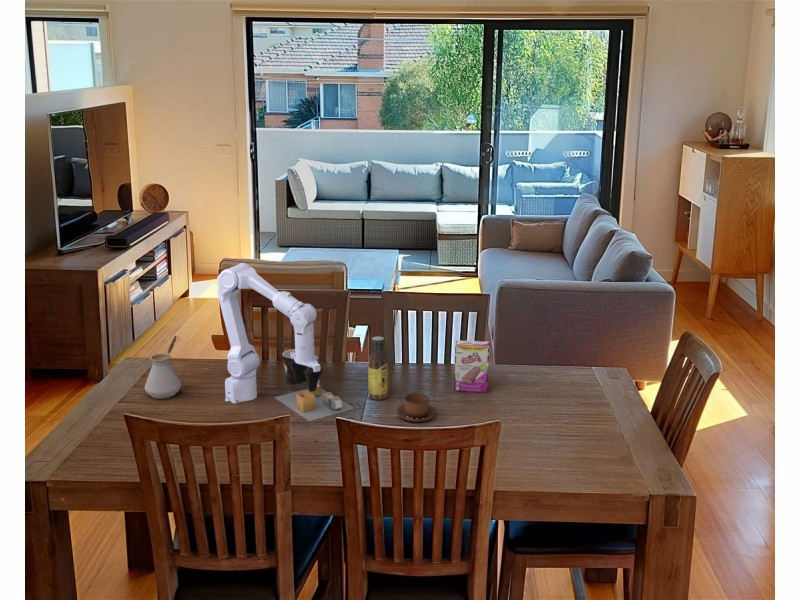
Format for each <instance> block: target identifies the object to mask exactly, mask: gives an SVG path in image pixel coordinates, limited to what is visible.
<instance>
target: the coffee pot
mask: <svg viewBox="0 0 800 600" xmlns="http://www.w3.org/2000/svg"><path fill="white" fill-rule="evenodd" d="M172 338H173V339H172V340H171V343H170V344H169V347H168V350H167V352H166V353H158V354H153V355H151V356H150V357H149V360H150V361H151V362H152V365H151V368H150V371H149V373H148V376H147V380H146V382H145V385H144V391H145V392H146V394H147V395H149V396H151V397H152V398H153V399H156V400H157V399H158V400H165V399H170V398H172V397H175V395H176V394H177V393H178V392H179V391H180V390H181V388H182V383H181V381H180V378H179V377H178V375H177V374H176V372H175V370H174V368H173V366H172V365H171V363H170V361H171V360H172V356H171V355H170V353H171V352H172V350H173V348H174V346H175V343H176V341H178V340H180V339H181V338H180V337H179V336H177V335H174V336H173V337H172ZM177 338H178V339H177Z"/></svg>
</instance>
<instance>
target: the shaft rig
mask: <svg viewBox="0 0 800 600" xmlns="http://www.w3.org/2000/svg"><path fill="white" fill-rule="evenodd" d="M320 382H321V381H320V379H319V380H318V383H317V388H316V390H315V391H312V394H314V395H321V388H322V387H321V383H320ZM327 392H328V391H327ZM322 398H323V403H327V404H328V409H330V410H331V411H333V410H336V409H340V408H341V407H342V401H343V400H341V397H339V396H338V395H336V396H335V395H333V394H332V392H331V391H329V392H328V393H325V394H322Z"/></svg>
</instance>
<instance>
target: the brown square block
mask: <svg viewBox="0 0 800 600" xmlns="http://www.w3.org/2000/svg"><path fill="white" fill-rule="evenodd" d="M296 396H297V409H298V410H300V411H301V412H303V413H306V412H309V411H313V410H315V397H314V394H312V393H311V392H309V391H305V392H301V393H297V394H296Z"/></svg>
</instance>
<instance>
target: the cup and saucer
mask: <svg viewBox="0 0 800 600" xmlns="http://www.w3.org/2000/svg"><path fill="white" fill-rule="evenodd" d="M436 413H437V409H436V407H434V406H432V405H430V404H429V396H428V395H426V394H424V393H409V394H407V395H405V396H404V404H402V405H400V406H399V407H398V408H397V409H396V414H397V415H398V417H400V418H401V419H403V420H404V421H409V422H416V423H417V422H426V421H429V420H431V419H433V418H434V416H435V417H436ZM406 416H408V417H409V418H411V417H412V419H409V418H407V417H406ZM416 418H418V419H416ZM423 418H424V419H423Z"/></svg>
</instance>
